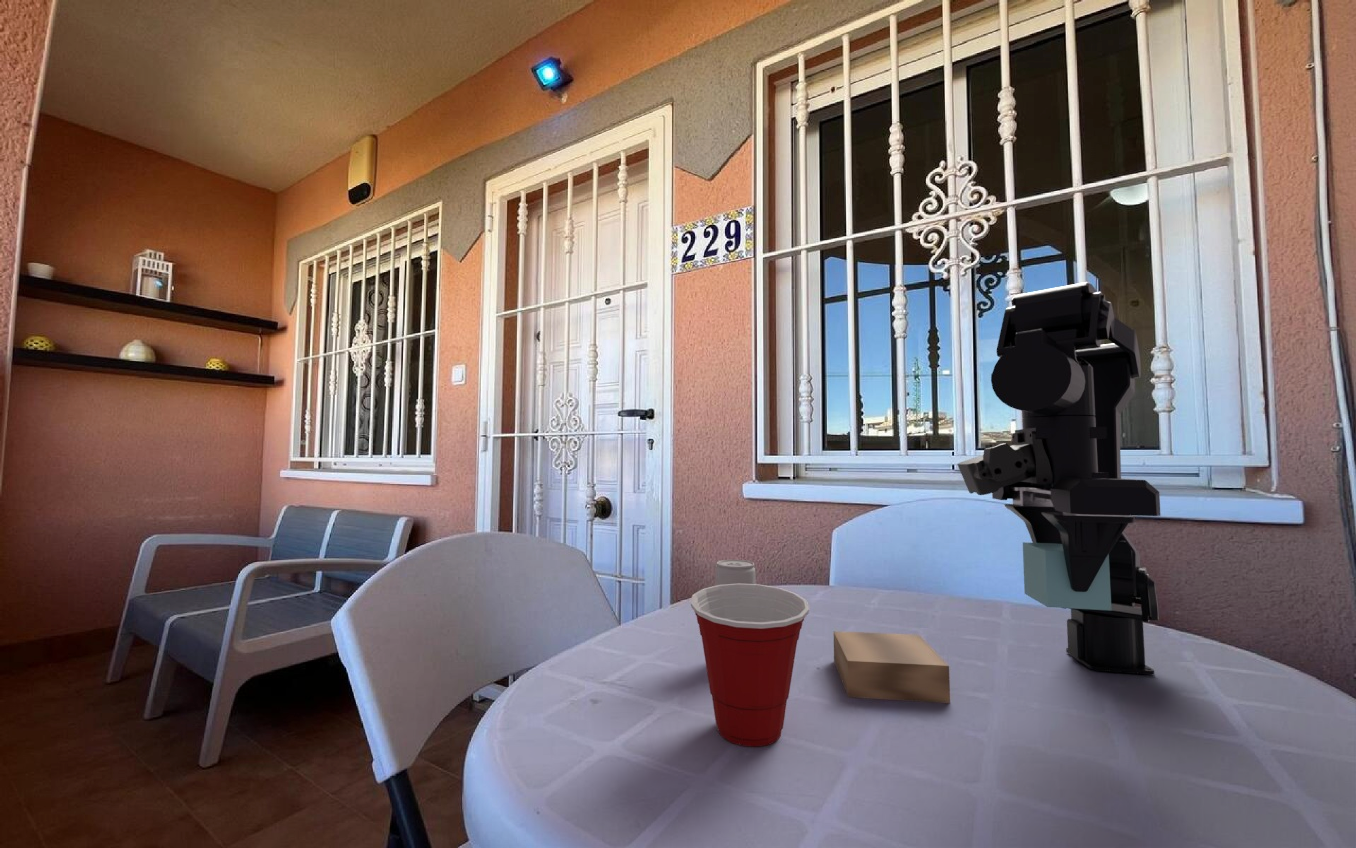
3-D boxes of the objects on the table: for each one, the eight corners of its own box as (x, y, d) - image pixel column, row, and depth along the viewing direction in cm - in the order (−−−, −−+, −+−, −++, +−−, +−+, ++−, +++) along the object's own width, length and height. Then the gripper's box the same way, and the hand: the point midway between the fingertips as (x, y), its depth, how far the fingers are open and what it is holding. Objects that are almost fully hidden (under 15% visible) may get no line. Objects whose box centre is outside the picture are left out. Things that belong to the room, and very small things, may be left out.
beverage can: (754, 673, 62) (754, 567, 63) (713, 670, 63) (712, 566, 64) (757, 658, 67) (756, 560, 68) (718, 655, 68) (718, 558, 69)
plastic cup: (696, 768, 43) (696, 614, 44) (685, 706, 54) (685, 584, 55) (829, 763, 44) (827, 612, 45) (792, 703, 55) (790, 582, 56)
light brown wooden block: (920, 669, 65) (919, 634, 65) (950, 706, 55) (949, 665, 55) (834, 664, 66) (833, 631, 67) (848, 700, 56) (847, 660, 57)
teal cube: (1082, 596, 52) (1079, 544, 53) (1111, 610, 48) (1108, 552, 48) (1024, 593, 54) (1022, 542, 54) (1047, 607, 49) (1045, 550, 49)
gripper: (940, 425, 63) (944, 562, 61) (1000, 410, 44) (1007, 605, 43) (1049, 424, 60) (1055, 567, 59) (1159, 408, 42) (1170, 614, 41)
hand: (1064, 584), depth 51 cm, fingers closed on teal cube, 5 cm apart
